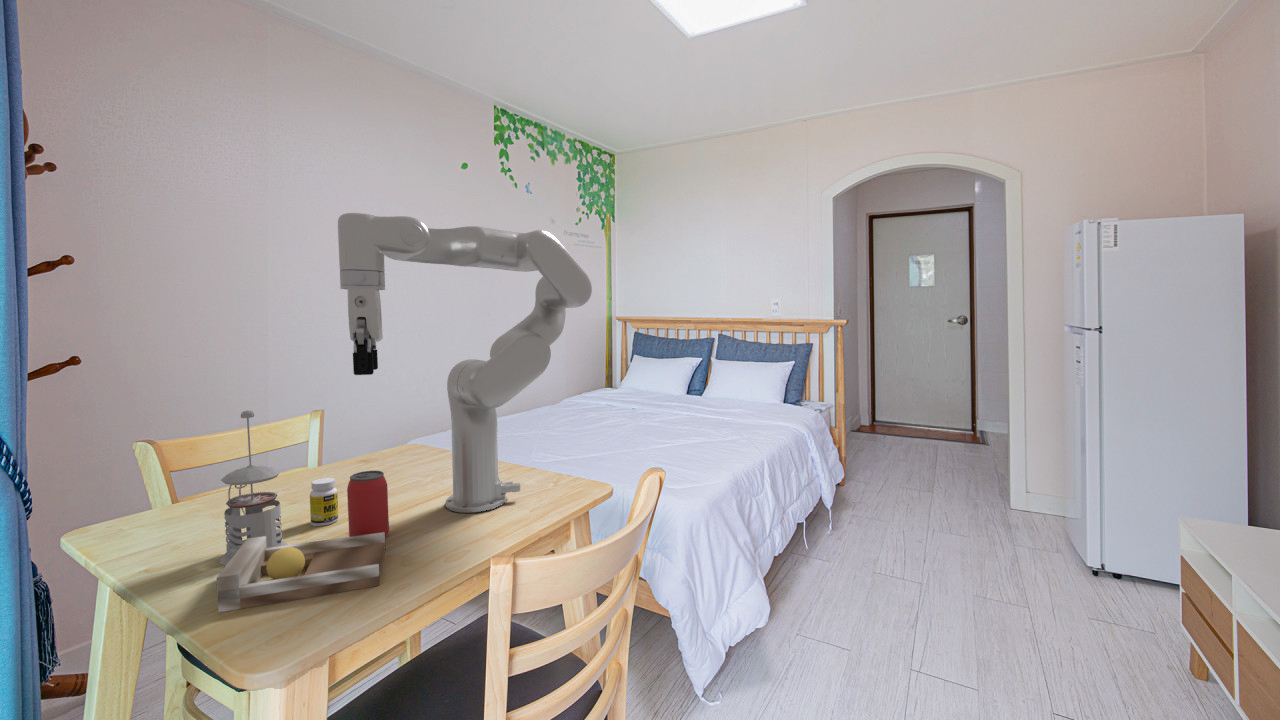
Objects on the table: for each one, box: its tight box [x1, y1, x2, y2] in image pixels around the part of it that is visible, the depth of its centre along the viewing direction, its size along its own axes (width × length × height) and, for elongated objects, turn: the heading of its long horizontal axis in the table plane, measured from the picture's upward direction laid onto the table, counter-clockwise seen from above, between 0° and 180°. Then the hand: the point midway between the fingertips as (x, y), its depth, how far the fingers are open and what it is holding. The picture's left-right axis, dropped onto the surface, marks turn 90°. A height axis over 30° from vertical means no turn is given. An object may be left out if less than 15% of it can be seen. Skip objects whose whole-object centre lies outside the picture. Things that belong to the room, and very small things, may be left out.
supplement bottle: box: [309, 477, 339, 527], centre depth 106 cm, size 5×5×8 cm
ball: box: [266, 547, 305, 580], centre depth 83 cm, size 5×5×5 cm
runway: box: [216, 532, 386, 613], centre depth 84 cm, size 20×14×5 cm
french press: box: [219, 410, 289, 566], centre depth 92 cm, size 10×12×25 cm
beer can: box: [346, 470, 390, 538], centre depth 98 cm, size 7×7×12 cm
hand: (366, 372), depth 102 cm, fingers open, 9 cm apart
